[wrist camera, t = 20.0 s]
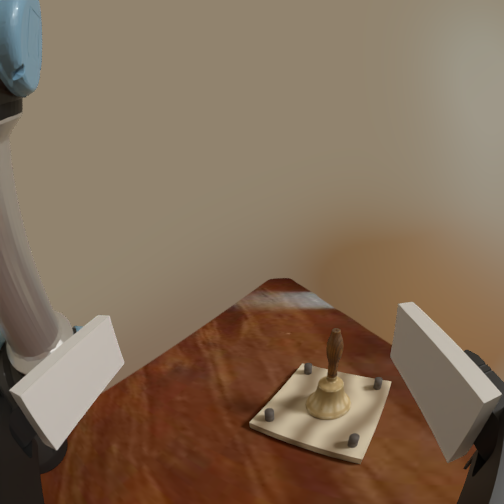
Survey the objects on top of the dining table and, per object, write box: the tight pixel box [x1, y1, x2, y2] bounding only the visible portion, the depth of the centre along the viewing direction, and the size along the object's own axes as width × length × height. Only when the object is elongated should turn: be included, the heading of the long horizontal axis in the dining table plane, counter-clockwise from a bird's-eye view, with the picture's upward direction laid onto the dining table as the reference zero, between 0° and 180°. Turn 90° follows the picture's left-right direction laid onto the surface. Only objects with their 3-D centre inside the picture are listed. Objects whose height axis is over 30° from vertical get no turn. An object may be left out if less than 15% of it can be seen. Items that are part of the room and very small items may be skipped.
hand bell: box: [305, 328, 351, 420], centre depth 40 cm, size 8×8×16 cm
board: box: [249, 363, 391, 464], centre depth 42 cm, size 20×20×4 cm
